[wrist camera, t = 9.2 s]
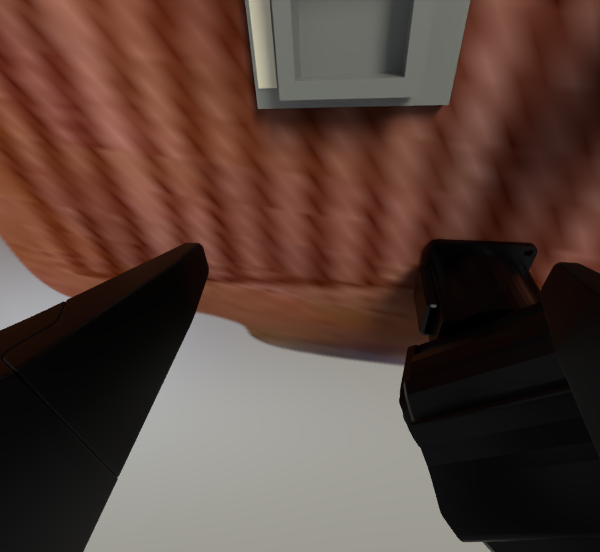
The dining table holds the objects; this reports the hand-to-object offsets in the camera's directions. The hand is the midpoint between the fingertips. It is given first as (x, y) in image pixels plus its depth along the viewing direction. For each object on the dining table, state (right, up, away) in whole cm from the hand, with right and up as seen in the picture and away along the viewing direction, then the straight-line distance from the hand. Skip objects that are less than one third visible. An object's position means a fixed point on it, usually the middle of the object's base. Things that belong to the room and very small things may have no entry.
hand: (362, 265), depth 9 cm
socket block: (+1, +12, +7) cm, 14 cm away
